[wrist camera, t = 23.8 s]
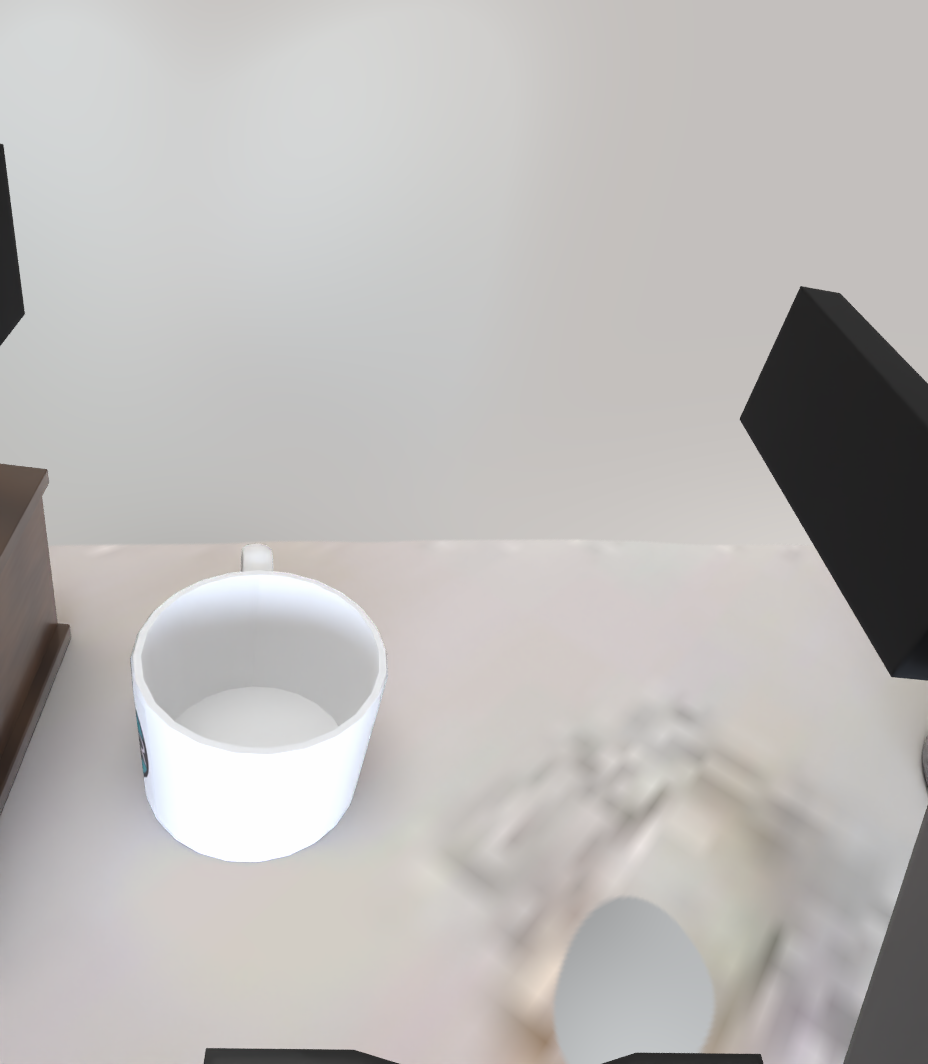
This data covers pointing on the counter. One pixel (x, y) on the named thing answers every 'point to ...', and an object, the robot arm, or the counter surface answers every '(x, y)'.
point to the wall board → (24, 616)
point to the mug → (255, 709)
